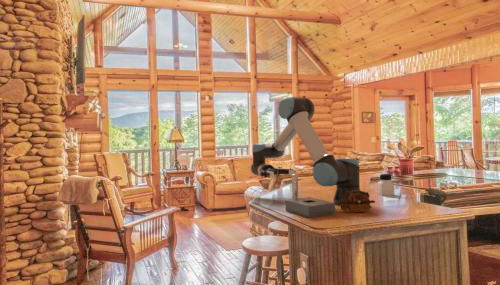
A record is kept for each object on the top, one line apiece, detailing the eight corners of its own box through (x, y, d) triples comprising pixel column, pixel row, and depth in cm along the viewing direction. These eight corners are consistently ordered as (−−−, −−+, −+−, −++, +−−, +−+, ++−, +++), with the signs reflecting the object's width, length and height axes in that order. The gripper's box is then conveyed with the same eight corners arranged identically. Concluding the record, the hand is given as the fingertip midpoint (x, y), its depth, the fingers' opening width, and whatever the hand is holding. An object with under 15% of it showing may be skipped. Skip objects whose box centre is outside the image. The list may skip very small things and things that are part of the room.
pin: (299, 205, 193) (298, 174, 192) (298, 206, 190) (297, 174, 189) (293, 205, 194) (292, 174, 193) (291, 206, 191) (290, 174, 190)
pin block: (285, 210, 181) (285, 199, 181) (310, 207, 187) (309, 197, 187) (308, 217, 163) (308, 206, 163) (335, 214, 169) (334, 203, 169)
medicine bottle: (394, 195, 213) (394, 174, 213) (381, 195, 213) (381, 174, 213) (390, 193, 220) (389, 173, 220) (377, 193, 221) (377, 173, 220)
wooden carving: (339, 213, 170) (339, 191, 169) (337, 211, 174) (337, 190, 174) (376, 213, 169) (376, 190, 169) (373, 211, 173) (373, 189, 173)
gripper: (285, 175, 225) (304, 179, 206) (247, 178, 215) (263, 182, 196) (284, 163, 225) (304, 165, 206) (246, 165, 215) (263, 168, 195)
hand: (284, 174), depth 201 cm, fingers open, 13 cm apart
